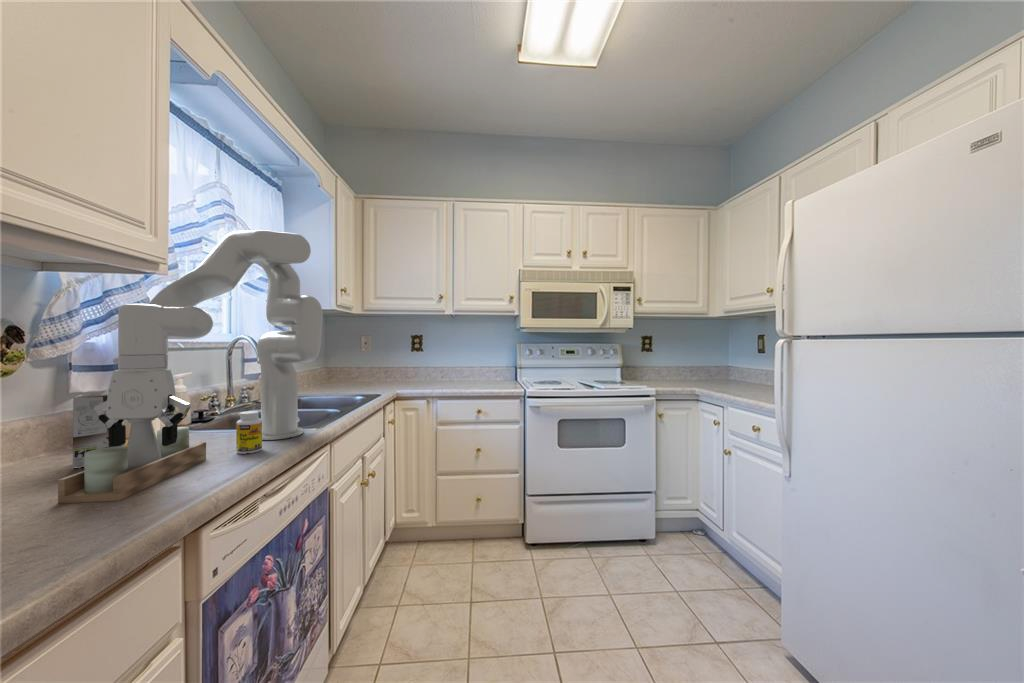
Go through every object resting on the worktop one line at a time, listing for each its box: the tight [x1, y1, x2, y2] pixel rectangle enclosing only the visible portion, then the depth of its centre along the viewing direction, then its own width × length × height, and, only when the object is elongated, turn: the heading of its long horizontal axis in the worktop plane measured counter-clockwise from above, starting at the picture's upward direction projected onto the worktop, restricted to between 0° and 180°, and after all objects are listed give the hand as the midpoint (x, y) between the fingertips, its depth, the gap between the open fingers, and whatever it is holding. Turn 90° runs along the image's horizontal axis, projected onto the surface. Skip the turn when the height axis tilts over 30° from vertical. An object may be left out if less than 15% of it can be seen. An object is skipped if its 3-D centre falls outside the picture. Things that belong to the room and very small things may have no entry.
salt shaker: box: [126, 418, 162, 471], centre depth 80 cm, size 6×6×13 cm
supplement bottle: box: [235, 410, 263, 455], centre depth 100 cm, size 6×6×10 cm
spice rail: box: [57, 426, 207, 504], centre depth 80 cm, size 24×10×8 cm, turn 8°
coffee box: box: [72, 391, 126, 469], centre depth 91 cm, size 9×6×16 cm
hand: (143, 445), depth 80 cm, fingers open, 9 cm apart
